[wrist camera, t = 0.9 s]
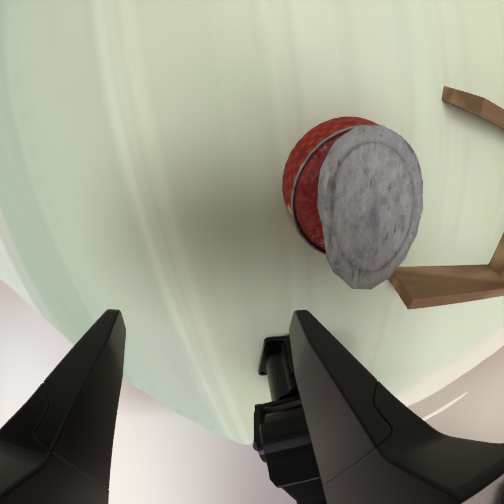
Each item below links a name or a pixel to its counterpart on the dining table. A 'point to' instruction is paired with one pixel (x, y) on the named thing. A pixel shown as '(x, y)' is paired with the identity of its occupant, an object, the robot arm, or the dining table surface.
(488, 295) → the shelf bay
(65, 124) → the dining table surface
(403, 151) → the canned food
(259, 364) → the robot arm
